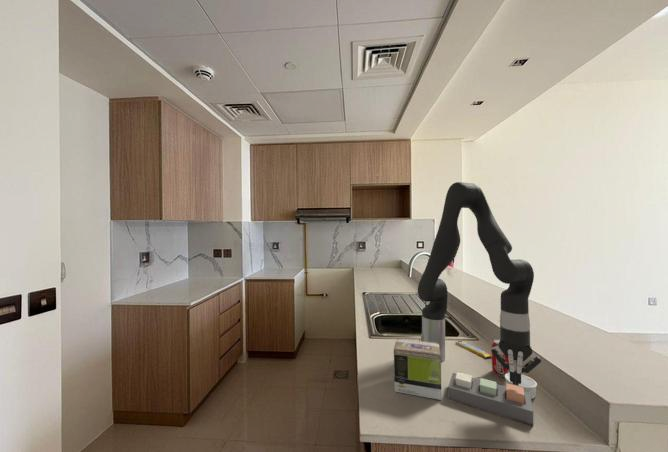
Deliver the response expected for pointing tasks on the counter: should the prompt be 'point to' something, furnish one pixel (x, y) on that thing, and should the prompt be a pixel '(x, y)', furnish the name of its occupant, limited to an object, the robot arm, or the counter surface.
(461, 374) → the ivory key
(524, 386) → the ramekin
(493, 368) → the soda can
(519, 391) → the terracotta key
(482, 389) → the sage key
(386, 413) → the counter surface
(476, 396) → the keypad housing
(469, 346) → the candy bar
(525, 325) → the robot arm
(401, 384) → the tea box
